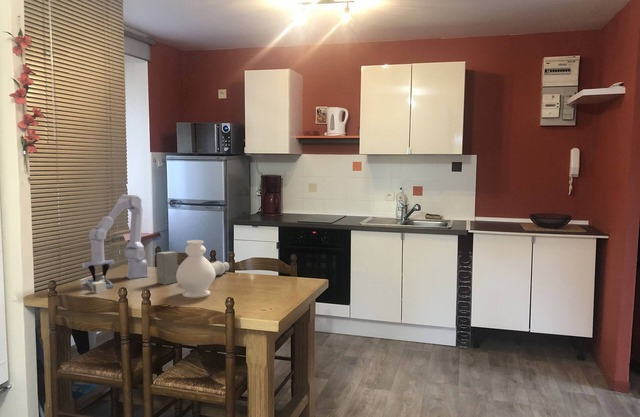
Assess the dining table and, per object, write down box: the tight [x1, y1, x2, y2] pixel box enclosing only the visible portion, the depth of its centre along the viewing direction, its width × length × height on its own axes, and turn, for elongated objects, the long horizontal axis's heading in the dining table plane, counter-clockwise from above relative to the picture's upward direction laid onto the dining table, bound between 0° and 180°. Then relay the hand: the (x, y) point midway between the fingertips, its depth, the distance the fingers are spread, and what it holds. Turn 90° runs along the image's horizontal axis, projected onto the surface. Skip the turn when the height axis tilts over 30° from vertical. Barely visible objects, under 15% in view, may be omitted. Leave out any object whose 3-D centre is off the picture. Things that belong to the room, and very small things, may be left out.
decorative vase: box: [176, 239, 216, 299], centre depth 239 cm, size 18×18×25 cm
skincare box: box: [156, 250, 178, 286], centre depth 261 cm, size 8×7×16 cm
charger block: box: [91, 281, 107, 294], centre depth 244 cm, size 5×4×4 cm
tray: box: [85, 277, 114, 290], centre depth 255 cm, size 17×9×2 cm, turn 35°
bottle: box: [210, 260, 230, 277], centre depth 272 cm, size 9×9×30 cm
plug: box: [94, 273, 106, 282], centre depth 255 cm, size 12×4×4 cm, turn 35°
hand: (99, 279), depth 255 cm, fingers closed on plug, 4 cm apart
